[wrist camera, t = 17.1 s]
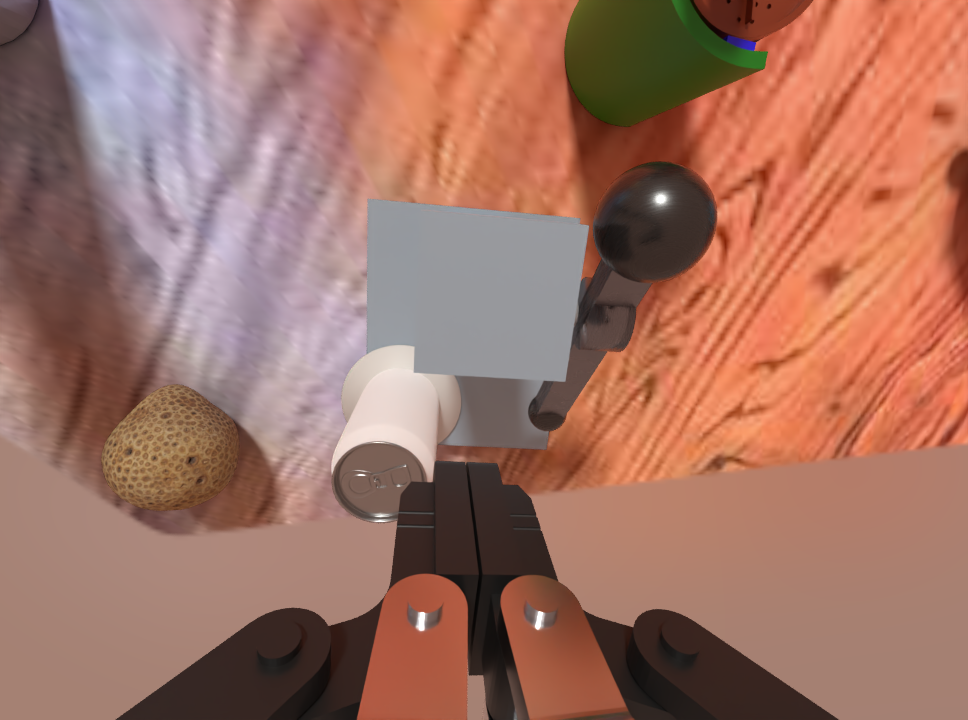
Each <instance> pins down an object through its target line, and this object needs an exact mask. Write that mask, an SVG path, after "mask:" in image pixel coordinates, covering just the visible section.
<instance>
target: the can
mask: <svg viewBox="0 0 968 720" xmlns="http://www.w3.org/2000/svg"><path fill="white" fill-rule="evenodd" d="M438 422H439V398H438V394H437V392H436V389H435V388H434V386H433V384H432V383H431V382H430V381H429V380H428V379H427V378H426V377H425V376H423V375H422V374H420V373H414V371H413V370H410V369H405V368H394V369H389V370H385V371H383V372H381V373H379V374H377V375H376V376H375V377H373V378H372V379H371V380H370V381H369V383H368V384H367V385H366V387H365V389H364V391H363V392H362V394H361V396H360V398H359V400H358V403H357V405H356V407H355V409H354V411H353V413H352V415H351V417H350V419H349V421H348V423H347V425H346V427H345V429H344V431H343V434H342V436H341V438H340V440H339V442H338V444H337V447H336V449H335V451H334V454H333V458H332V465H331V469H332V489H333V493H334V495H335V497H336V499H337V501H338V502H339V504H340V505H341V506H342V507H343V508H344V509H345V510H346V511H347V512H348V513H350V514H351V515H353V516H354V517H356V518H359V519H361V520H364V521H368V522H373V523H388V522H394V521H397V520H398V513H399V504H400V495H401V493H402V492H403V491H404V490H405V488H406V487H407V486H408V485H409V484H410V482H411V481H413V482H433V471H434V462H435V461H436V452H437V438H438Z"/></svg>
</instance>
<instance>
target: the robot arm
mask: <svg viewBox="0 0 968 720" xmlns="http://www.w3.org/2000/svg"><path fill="white" fill-rule="evenodd" d="M37 7H38V0H0V45H2V44H4V43H7V42H9V41H12V40H14V39H15V38H17V37H18V36H19V35H20V34H22V33H23V32H24V31H25V30H26V28H27V27H28V26H29V24H30V23H31V22H32V20H33V17H34V15H35V12H36V9H37ZM467 659H468V671H469V675H483V676H484V685H485V701H484V708H483V716H482V720H838V719H837V718H835V717H834V716H833V715H831V714H830V713H828V712H827V711H825V710H824V709H822V708H821V707H819V706H817V705H816V704H815V703H813V702H812V701H811V700H809V699H808V698H806V697H805V696H803V695H802V694H800V693H798V692H797V691H796V690H794V689H793V688H791V687H790V686H788V685H787V684H786V683H784V682H782V681H781V680H780V679H778V678H777V677H775V676H774V675H772V674H771V673H769V672H768V671H766V670H765V669H763V668H762V667H760V666H759V665H758V664H756V663H754V662H753V661H751V660H750V659H749V658H747V657H746V656H744V655H743V654H741V653H740V652H738V651H737V650H735V649H734V648H732V647H731V646H730V645H728V644H726V643H725V642H724V641H722V640H721V639H719V638H718V637H716V636H715V635H713V634H712V633H711V632H709V631H708V630H706V629H705V628H703V627H702V626H700V625H699V624H697V623H696V622H694V621H693V620H691V619H689V618H688V617H685V616H683V615H681V614H679V613H676V612H673V611H669V610H662V609H655V610H654V609H653V610H649V611H646V612H644V613H642V614H641V615H640V616H638V618H637V620H636V621H635V624H634V627H630V626H626V625H622V624H619V623H616V622H612V621H608V620H605V619H602V618H599V617H596V616H594V615H592V614H589V613H587V612H586V611H584V610H582V607H581V605H580V603H579V601H578V600H577V598H576V597H575V595H574V594H573V593H572V592H571V591H570V590H569V589H568V588H567V587H566V586H564V585H563V584H561V583H560V582H558V579H557V576H556V573H555V570H554V567H553V564H552V561H551V558H550V555H549V552H548V549H547V546H546V543H545V540H544V537H543V534H542V531H541V530H540V524H539V521H538V518H537V517H536V512H535V509H534V506H533V504H532V500H531V498H530V497H529V496H528V495H527V494H526V493H525V492H524V491H523V490H522V489H521V488H520V487H519V486H518V485H503V484H502V480H501V476H500V472H499V468H498V465H497V463H476V462H467V463H466V465H465V462H450V461H435V462H434V471H433V482H413V481H411V482H410V484H409V485H408V486H407V487H406V488H405V490H404V491H403V492H402V493H401V495H400V504H399V513H398V521H397V530H396V539H395V548H394V556H393V566H392V574H391V582H390V586H389V589H388V591H387V593H386V595H385V596H384V598H383V599H382V600H381V601H380V603H379V604H378V605H377V606H375V607H374V608H373V609H371V610H370V611H369V612H367V613H365V614H363V615H361V616H359V617H358V618H354V619H352V620H348V621H345V622H341V623H338V624H335V625H331V626H328V625H327V623H326V622H325V620H324V619H322V618H321V617H320V616H319V615H318V614H316V613H315V612H312V611H309V610H307V609H301V608H285V609H280V610H276V611H273V612H270V613H267V614H265V615H263V616H261V617H259V618H257V619H256V620H254V621H252V622H251V623H249V624H248V625H246V626H245V627H244V628H242V629H241V630H240V631H238V632H237V633H235V634H234V635H233V636H231V637H230V638H228V639H227V640H226V641H224V642H223V643H221V644H220V645H219V646H217V647H216V648H215V649H213V650H212V651H210V652H209V653H208V654H206V655H205V656H203V657H202V658H201V659H200V660H198V661H197V662H195V663H194V664H192V665H191V666H190V667H188V668H187V669H185V670H184V671H183V672H181V673H180V674H178V675H177V676H176V677H174V678H173V679H172V680H170V681H169V682H167V683H166V684H165V685H163V686H162V687H160V688H159V689H158V690H156V691H155V692H154V693H152V694H151V695H149V696H148V697H147V698H145V699H144V700H142V701H141V702H140V703H138V704H137V705H135V706H134V707H133V708H131V709H130V710H129V711H127V712H126V713H124V714H123V715H122V716H120V717H119V718H117V719H116V720H467Z"/></svg>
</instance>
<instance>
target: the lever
mask: <svg viewBox="0 0 968 720" xmlns="http://www.w3.org/2000/svg"><path fill="white" fill-rule="evenodd" d="M716 225H717V206H716V202H715V199H714V196H713V194H712V191H711V190H710V188H709V186H708V185H707V183H706V182H705V181H704V180H703V179H702V178H701V176H699V175H698V174H697V173H695V172H694V171H693V170H691V169H689V168H687V167H685V166H683V165H680V164H677V163H672V162H650V163H646V164H642V165H639V166H637V167H634V168H632V169H630V170H628V171H626V172H625V173H623V174H622V175H621V176H619V177H618V178H617V179H616V180H615V181H614V182H613V183H612V184H611V185H610V186H609V187H608V188H607V189H606V191H605V192H604V194H603V195H602V197H601V199H600V201H599V203H598V205H597V209H596V212H595V215H594V222H593V236H594V241H595V245H596V248H597V250H598V252H599V255H600V256H601V258H602V259H601V261H600V263H599V265H598V267H597V269H596V272H595V274H594V276H593V278H590V277H585V278H583V279H582V281H581V283H580V289H579V296H578V306H579V312H578V319H577V323H576V325H575V326H574V328H573V335H572V341H571V348H570V354H569V361H568V367H567V374H566V381H565V382H559V381H543V383H542V385H541V387H540V389H539V391H538V394H537V396H536V397H534V398H533V399H532V401H531V402H530V404H529V407H528V416H529V419H530V421H531V423H532V424H533V425H534V426H535V427H536V428H537V429H539V430H542V431H553V430H556V429H558V428H559V427H560V426H562V424H563V423H564V421H565V419H566V416H567V412H568V411H569V409H570V408H571V406H572V405H573V403H574V402H575V400H576V399H577V397H578V396H579V394H580V393H581V391H582V390H583V388H584V386H585V385H586V383H587V382H588V380H589V379H590V377H591V376H592V374H593V373H594V371H595V370H596V368H597V367H598V365H599V364H600V362H601V361H602V359H603V358H604V356H605V354H606V353H607V351H609V352H621V351H623V350H624V349H625V348H626V346H627V345H628V343H629V341H630V339H631V336H632V333H633V329H634V324H635V318H636V307H637V306H638V304H639V303H640V301H641V300H642V298H643V297H644V295H645V294H646V292H647V291H648V289H649V287H650V286H651V284H652V283H658V282H663V281H667V280H670V279H673V278H676V277H678V276H680V275H682V274H683V273H685V272H686V271H688V270H689V269H691V268H692V267H693V266H694V265H695V264H696V263H697V262H698V261H699V260H700V259H701V258H702V257H703V256H704V254H705V253H706V251H707V250H708V248H709V246H710V244H711V242H712V240H713V237H714V234H715V231H716Z"/></svg>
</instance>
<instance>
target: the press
mask: <svg viewBox="0 0 968 720" xmlns="http://www.w3.org/2000/svg"><path fill="white" fill-rule="evenodd" d="M588 231H589V225H582V224H580V218H571V217H560V216H549V215H538V214H528V213H517V212H506V211H495V210H484V209H473V208H463V207H452V206H441V205H430V204H419V203H408V202H397V201H387V200H376V199H368V236H367V354H366V355H365V356H363V357H362V358H361V359H360V360H359V361H358V362H357V363H356V364H355V365H354V366H353V367H352V369H351V370H350V371H349V373H348V375H347V377H346V379H345V382H344V384H343V388H342V395H341V402H342V409H343V414H344V416H345V419H346V421H347V423H348V421H349V419H350V417H351V415H352V413H353V411H354V409H355V407H356V405H357V403H358V400H359V398H360V396H361V394H362V392H363V391H364V389H365V387H366V385H367V384H368V383H369V381H370V380H371V379H372V378H373V377H375V376H376V375H377V374H379V373H381V372H383V371H385V370H389V369H394V368H405V369H410V370H413V371H414V373H420V374H422V375H423V376H425V377H426V378H427V379H428V380H429V381H430V382H431V383H432V384H433V386H434V388H435V389H436V392H437V394H438V398H439V422H438V438H437V445H457V446H478V447H500V448H522V449H544V450H546V449H547V442H548V435H549V431H542V430H539V429H537V428H536V427H535V426H534V425H533V424H532V423H531V421H530V419H529V416H528V407H529V404H530V402H531V401H532V399H533V398H534V397H536V396H537V394H538V391H539V389H540V387H541V385H542V383H543V381H559V382H565V381H566V374H567V367H568V361H569V354H570V348H571V341H572V335H573V328H574V326H575V325H576V323H577V319H578V312H579V306H578V296H579V289H580V283H581V276H582V270H583V263H584V257H585V250H586V244H587V237H588Z"/></svg>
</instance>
